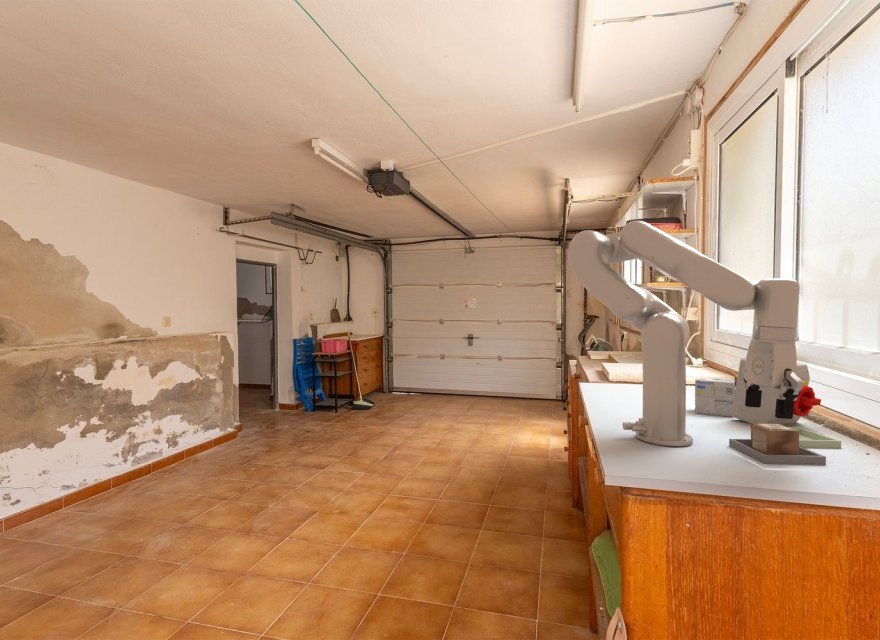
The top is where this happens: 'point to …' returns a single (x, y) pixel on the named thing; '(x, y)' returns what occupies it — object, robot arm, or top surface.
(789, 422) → the electrical switch box
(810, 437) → the green tray
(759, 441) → the letter block
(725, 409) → the light bulb box
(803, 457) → the grey tray
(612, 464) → the top surface
